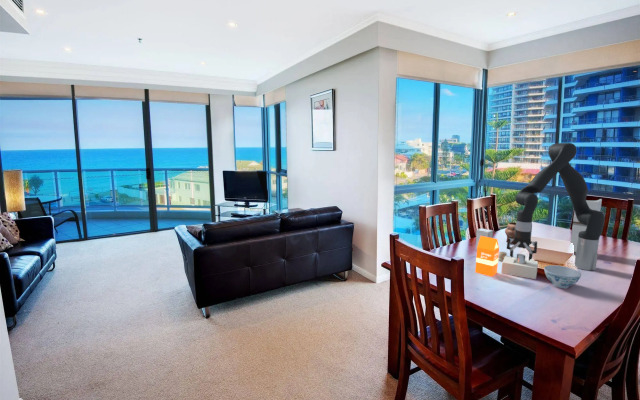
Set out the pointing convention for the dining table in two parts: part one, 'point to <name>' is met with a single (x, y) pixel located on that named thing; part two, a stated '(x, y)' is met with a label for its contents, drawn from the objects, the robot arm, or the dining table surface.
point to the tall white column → (581, 227)
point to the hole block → (519, 267)
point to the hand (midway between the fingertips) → (520, 258)
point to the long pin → (520, 259)
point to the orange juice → (487, 256)
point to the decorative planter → (510, 231)
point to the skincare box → (483, 233)
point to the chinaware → (562, 275)
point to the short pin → (502, 256)
